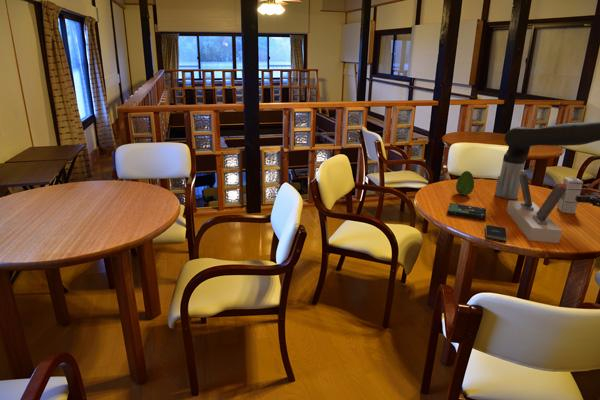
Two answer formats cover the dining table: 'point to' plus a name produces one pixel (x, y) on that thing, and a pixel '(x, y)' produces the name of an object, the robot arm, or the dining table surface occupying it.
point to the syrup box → (570, 195)
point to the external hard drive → (496, 233)
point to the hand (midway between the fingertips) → (576, 198)
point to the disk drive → (467, 211)
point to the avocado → (465, 183)
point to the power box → (533, 222)
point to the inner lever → (525, 188)
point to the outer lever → (551, 201)
